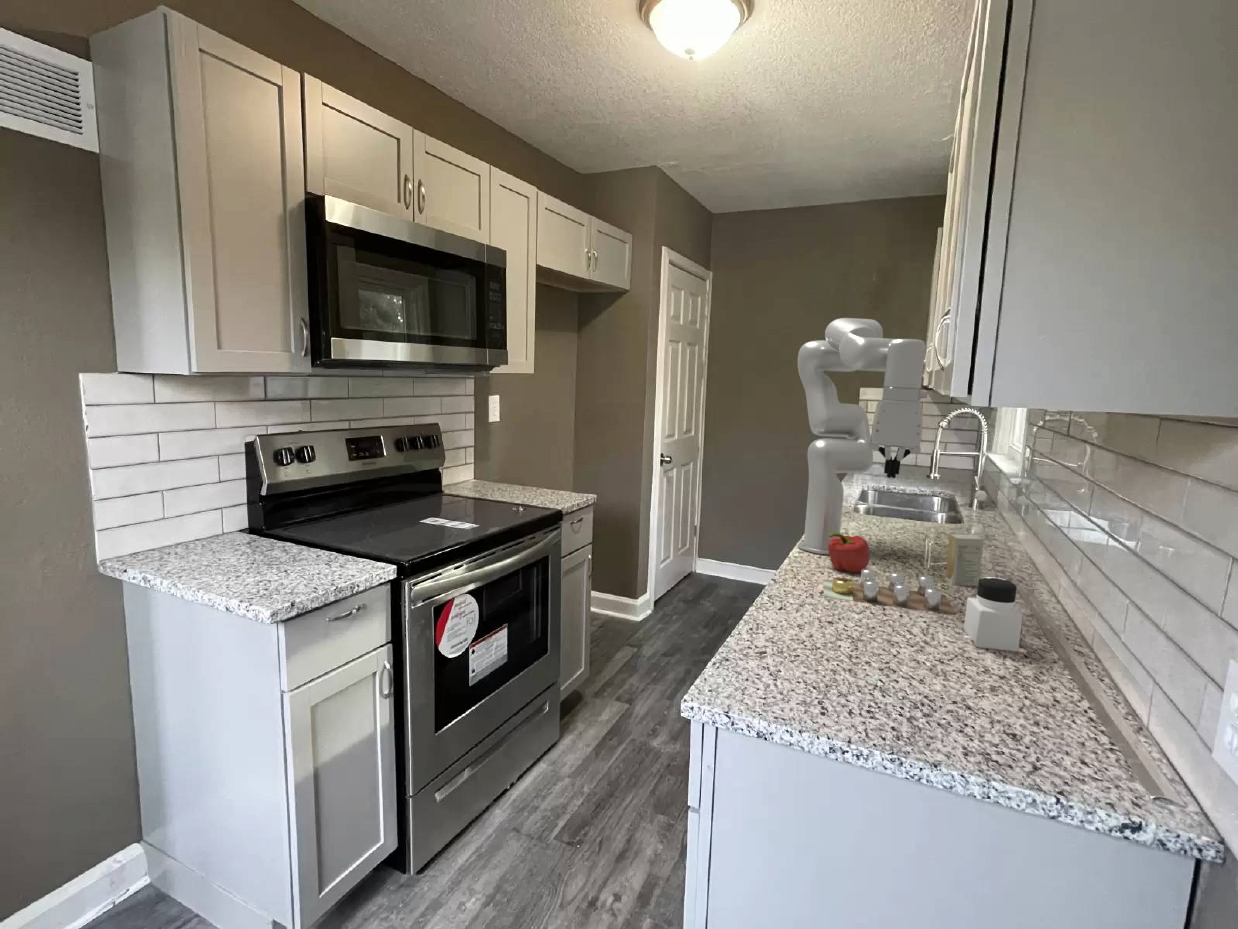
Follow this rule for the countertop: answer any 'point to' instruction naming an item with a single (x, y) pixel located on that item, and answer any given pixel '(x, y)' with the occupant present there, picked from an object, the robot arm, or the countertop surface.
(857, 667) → the countertop surface
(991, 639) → the medicine bottle
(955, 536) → the skincare box
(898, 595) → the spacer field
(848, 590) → the brass knob
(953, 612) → the board
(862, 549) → the vegetable
